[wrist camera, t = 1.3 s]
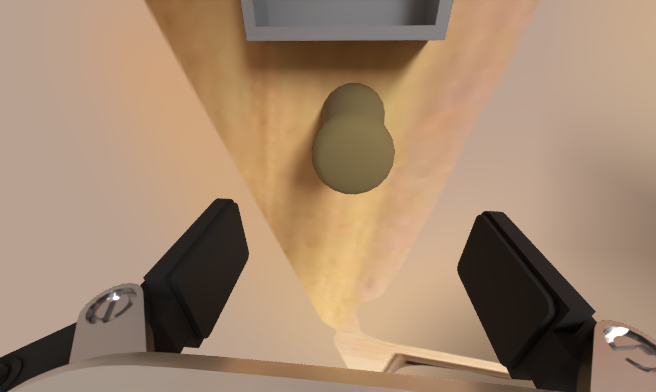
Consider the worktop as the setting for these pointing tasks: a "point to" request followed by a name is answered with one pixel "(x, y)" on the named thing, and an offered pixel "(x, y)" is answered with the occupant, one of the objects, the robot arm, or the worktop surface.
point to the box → (346, 20)
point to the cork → (353, 141)
